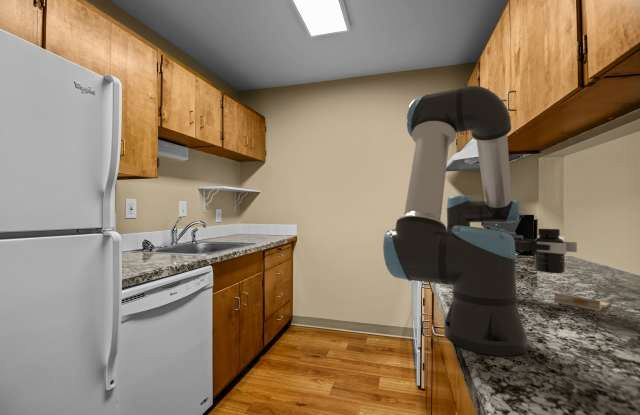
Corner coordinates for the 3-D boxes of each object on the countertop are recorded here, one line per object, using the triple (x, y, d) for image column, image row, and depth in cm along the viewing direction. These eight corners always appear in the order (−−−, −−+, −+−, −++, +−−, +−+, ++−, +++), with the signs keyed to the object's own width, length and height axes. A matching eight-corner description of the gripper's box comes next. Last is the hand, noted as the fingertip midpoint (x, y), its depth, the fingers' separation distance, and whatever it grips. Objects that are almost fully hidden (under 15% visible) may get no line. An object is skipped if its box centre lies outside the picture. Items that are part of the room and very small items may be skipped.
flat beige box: (598, 311, 82) (598, 301, 82) (554, 302, 90) (554, 293, 90) (610, 304, 87) (610, 295, 87) (567, 296, 96) (567, 288, 96)
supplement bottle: (570, 274, 82) (570, 229, 82) (541, 273, 83) (541, 229, 84) (556, 269, 89) (555, 228, 89) (530, 268, 90) (529, 228, 90)
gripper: (500, 251, 107) (584, 259, 87) (468, 254, 96) (556, 265, 77) (500, 229, 107) (584, 233, 87) (468, 230, 96) (555, 235, 77)
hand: (570, 248), depth 82 cm, fingers closed on supplement bottle, 7 cm apart
